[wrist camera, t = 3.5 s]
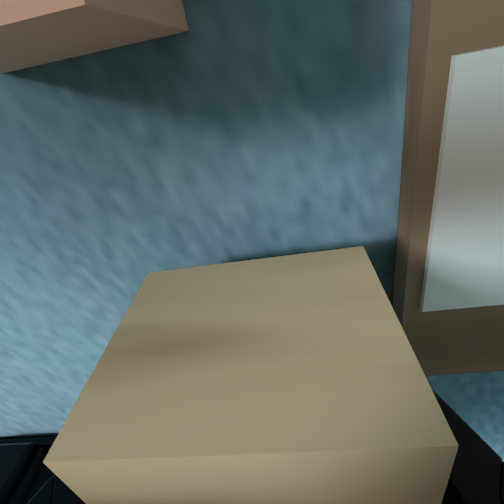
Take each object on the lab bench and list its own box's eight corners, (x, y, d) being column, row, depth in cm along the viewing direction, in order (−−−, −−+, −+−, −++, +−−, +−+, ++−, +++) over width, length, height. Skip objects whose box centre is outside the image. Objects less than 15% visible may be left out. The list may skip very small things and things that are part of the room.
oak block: (362, 387, 11) (416, 584, 7) (202, 397, 12) (165, 580, 8) (363, 245, 8) (458, 446, 4) (148, 272, 9) (42, 462, 5)
